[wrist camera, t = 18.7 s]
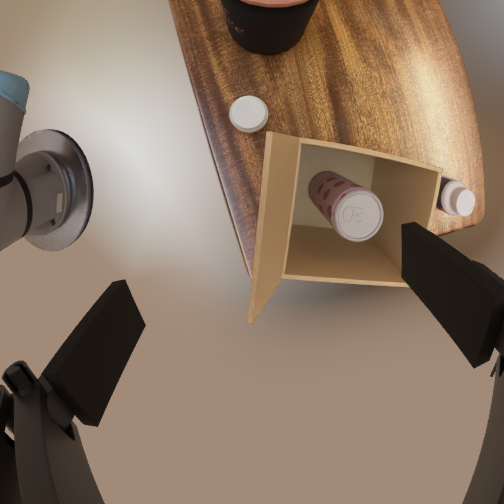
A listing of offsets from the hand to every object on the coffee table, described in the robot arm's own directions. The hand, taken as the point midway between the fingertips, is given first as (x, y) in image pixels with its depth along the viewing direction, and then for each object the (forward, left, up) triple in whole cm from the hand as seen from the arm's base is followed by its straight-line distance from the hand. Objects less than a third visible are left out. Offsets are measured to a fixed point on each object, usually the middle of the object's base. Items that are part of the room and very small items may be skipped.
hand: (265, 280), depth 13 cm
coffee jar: (-1, +24, -31) cm, 39 cm away
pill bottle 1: (-2, +9, -31) cm, 32 cm away
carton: (+10, 0, -31) cm, 32 cm away
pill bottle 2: (+29, +3, -31) cm, 42 cm away
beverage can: (+10, 0, -30) cm, 32 cm away
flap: (+1, 0, -9) cm, 9 cm away
